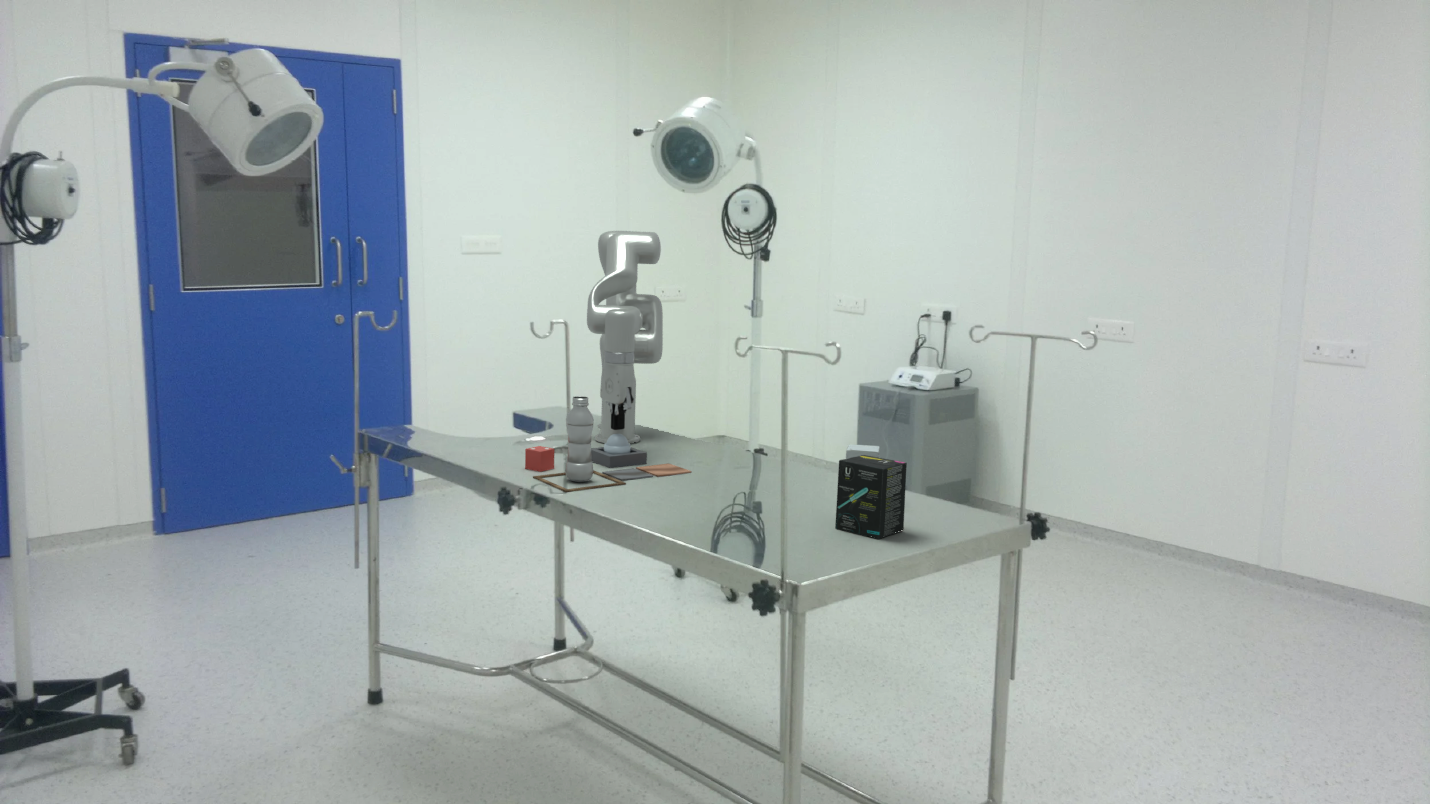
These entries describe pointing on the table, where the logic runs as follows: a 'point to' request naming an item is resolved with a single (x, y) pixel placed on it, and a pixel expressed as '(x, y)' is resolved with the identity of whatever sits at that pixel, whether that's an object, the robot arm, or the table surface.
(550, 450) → the red die
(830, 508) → the table surface
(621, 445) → the dome
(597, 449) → the grey hollow frame
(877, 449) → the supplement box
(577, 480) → the plastic bottle
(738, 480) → the table surface
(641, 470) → the game track
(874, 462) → the tampon box
